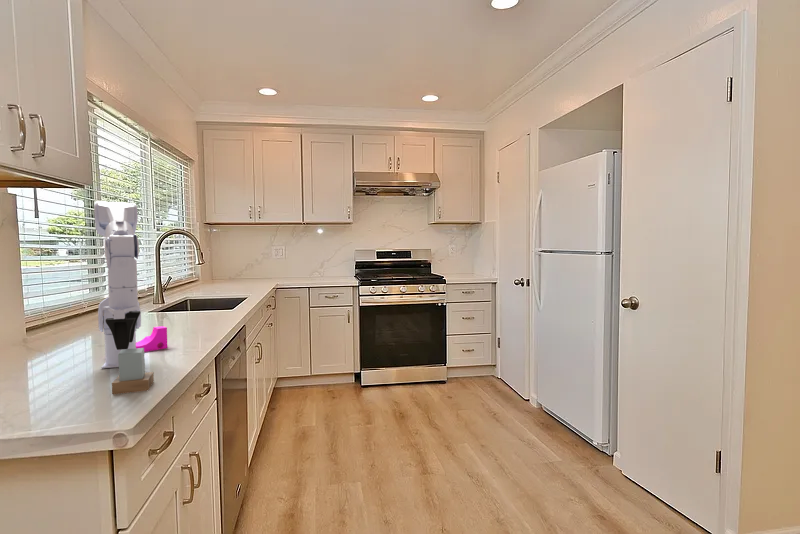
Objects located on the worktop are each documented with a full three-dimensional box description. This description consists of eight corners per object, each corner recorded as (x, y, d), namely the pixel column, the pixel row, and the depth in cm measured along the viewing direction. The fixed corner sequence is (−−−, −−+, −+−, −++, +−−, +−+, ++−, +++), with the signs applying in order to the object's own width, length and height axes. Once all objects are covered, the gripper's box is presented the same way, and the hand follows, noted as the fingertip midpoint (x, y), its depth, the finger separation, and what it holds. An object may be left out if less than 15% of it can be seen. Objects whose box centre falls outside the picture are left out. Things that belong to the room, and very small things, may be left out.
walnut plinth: (120, 387, 106) (119, 374, 106) (153, 384, 109) (153, 371, 108) (112, 396, 100) (111, 383, 100) (148, 393, 102) (148, 380, 102)
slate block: (122, 375, 105) (121, 349, 105) (145, 373, 107) (143, 347, 106) (119, 381, 101) (118, 354, 100) (142, 378, 103) (141, 352, 102)
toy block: (160, 348, 146) (159, 325, 146) (167, 351, 142) (166, 327, 142) (106, 356, 136) (105, 331, 135) (112, 360, 131) (111, 334, 131)
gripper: (108, 285, 110) (110, 341, 111) (96, 290, 97) (98, 354, 97) (141, 284, 113) (143, 338, 113) (134, 289, 100) (136, 351, 100)
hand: (125, 345), depth 106 cm, fingers open, 7 cm apart
